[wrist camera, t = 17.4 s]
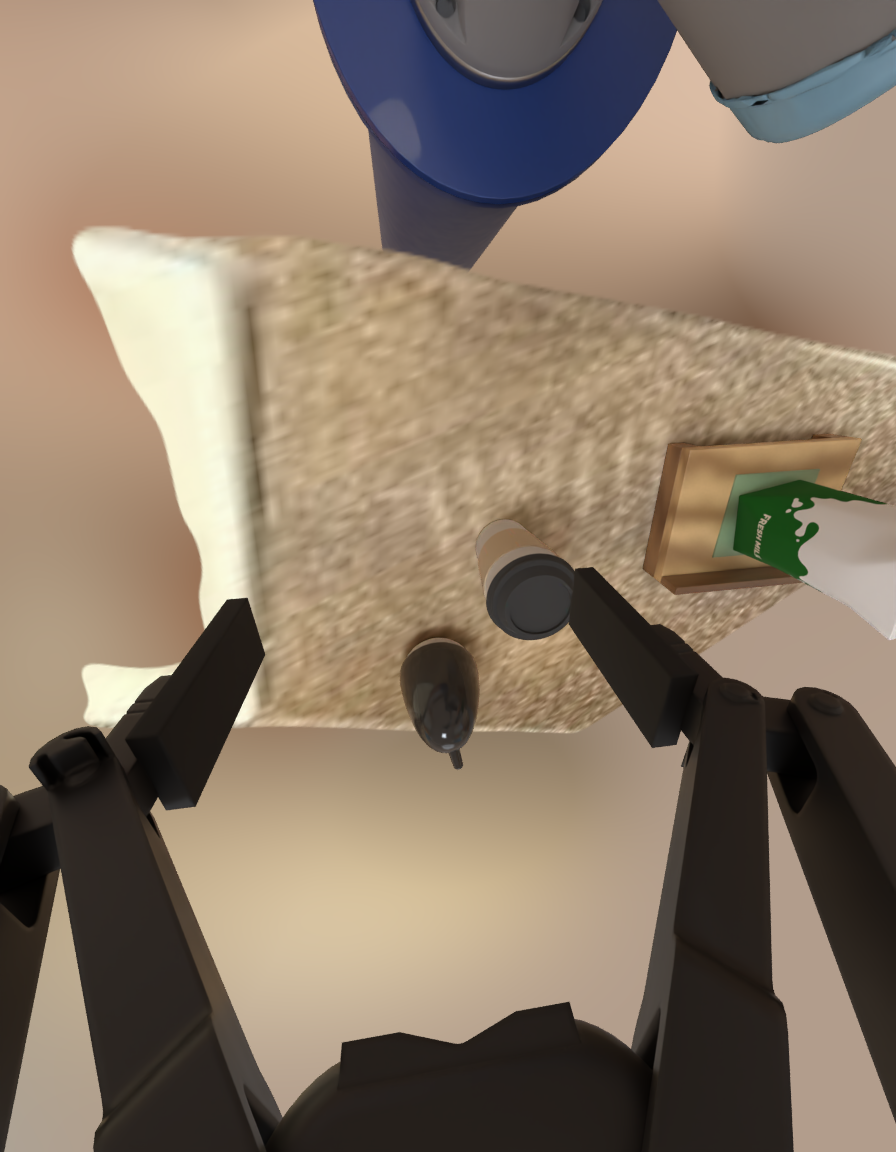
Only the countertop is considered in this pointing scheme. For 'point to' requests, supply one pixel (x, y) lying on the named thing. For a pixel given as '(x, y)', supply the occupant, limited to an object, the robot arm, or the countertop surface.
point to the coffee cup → (523, 581)
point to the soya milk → (826, 544)
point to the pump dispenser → (441, 694)
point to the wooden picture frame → (729, 507)
